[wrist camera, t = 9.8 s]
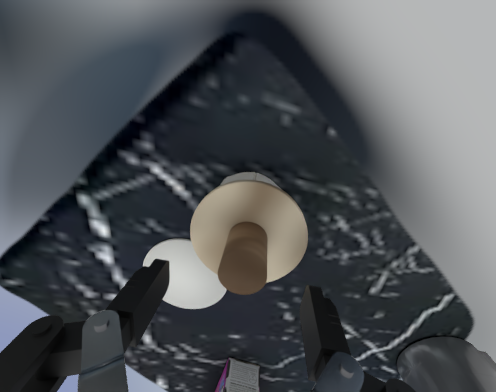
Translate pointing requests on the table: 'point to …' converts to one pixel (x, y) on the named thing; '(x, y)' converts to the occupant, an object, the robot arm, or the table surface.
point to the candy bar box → (239, 377)
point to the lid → (248, 234)
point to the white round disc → (186, 275)
